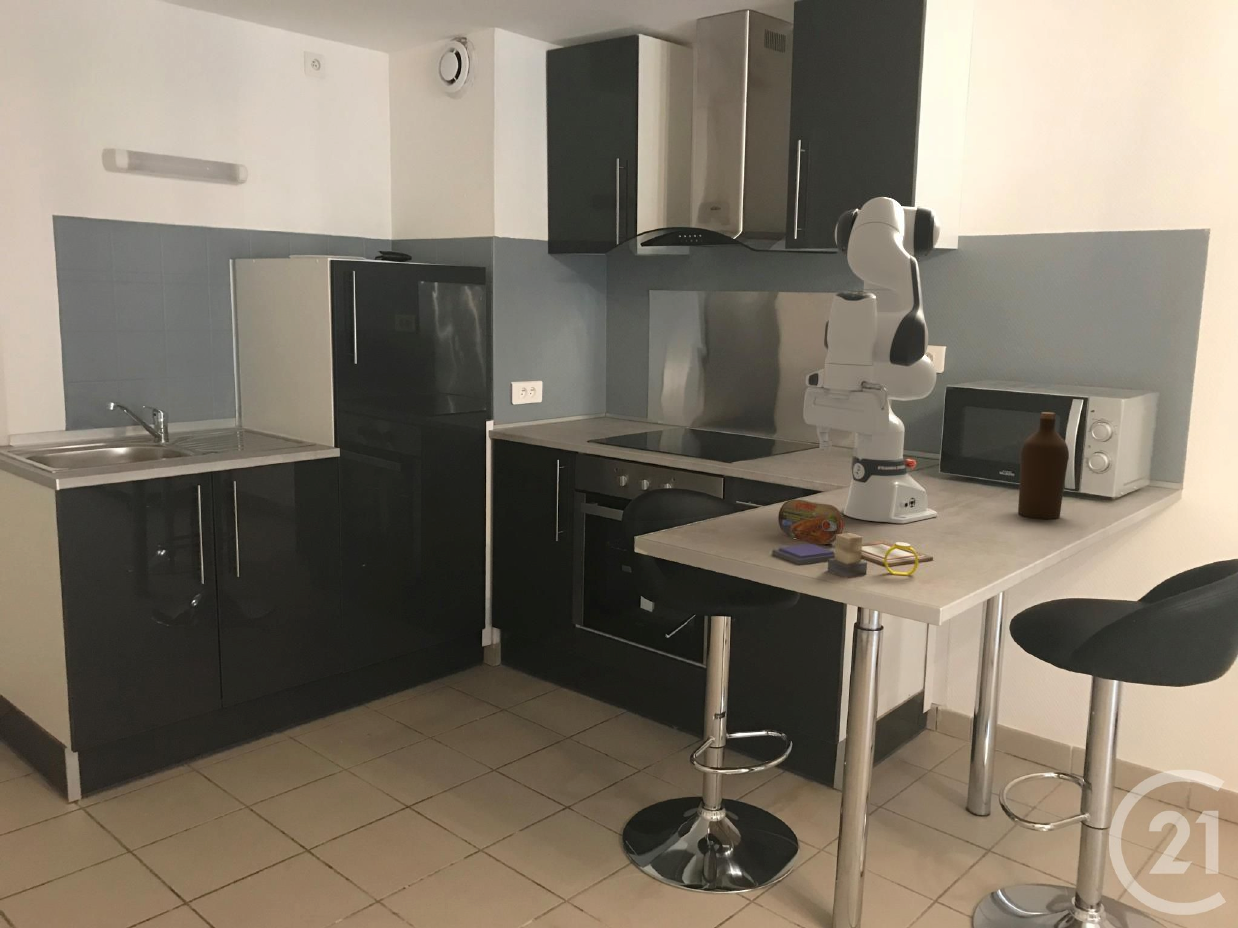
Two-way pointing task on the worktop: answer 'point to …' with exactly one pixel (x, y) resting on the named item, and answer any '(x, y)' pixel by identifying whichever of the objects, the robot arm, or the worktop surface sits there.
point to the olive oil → (1043, 471)
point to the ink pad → (804, 554)
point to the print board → (890, 554)
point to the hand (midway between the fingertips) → (841, 454)
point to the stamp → (848, 556)
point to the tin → (810, 521)
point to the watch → (901, 546)
